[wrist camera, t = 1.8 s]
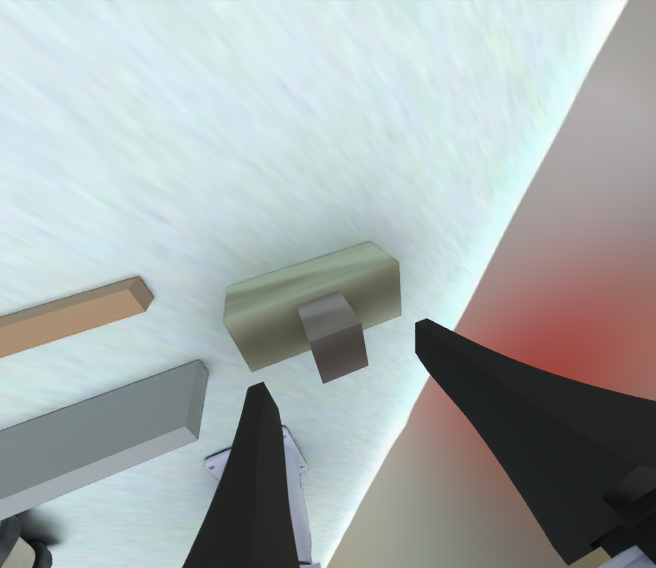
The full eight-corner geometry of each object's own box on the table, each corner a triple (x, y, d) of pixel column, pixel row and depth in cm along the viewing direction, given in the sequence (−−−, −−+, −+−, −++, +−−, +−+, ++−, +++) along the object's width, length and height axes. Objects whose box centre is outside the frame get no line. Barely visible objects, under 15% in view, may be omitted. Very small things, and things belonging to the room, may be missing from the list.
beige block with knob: (373, 286, 19) (431, 346, 13) (250, 330, 18) (253, 419, 12) (368, 239, 17) (433, 287, 11) (227, 285, 16) (217, 366, 10)
